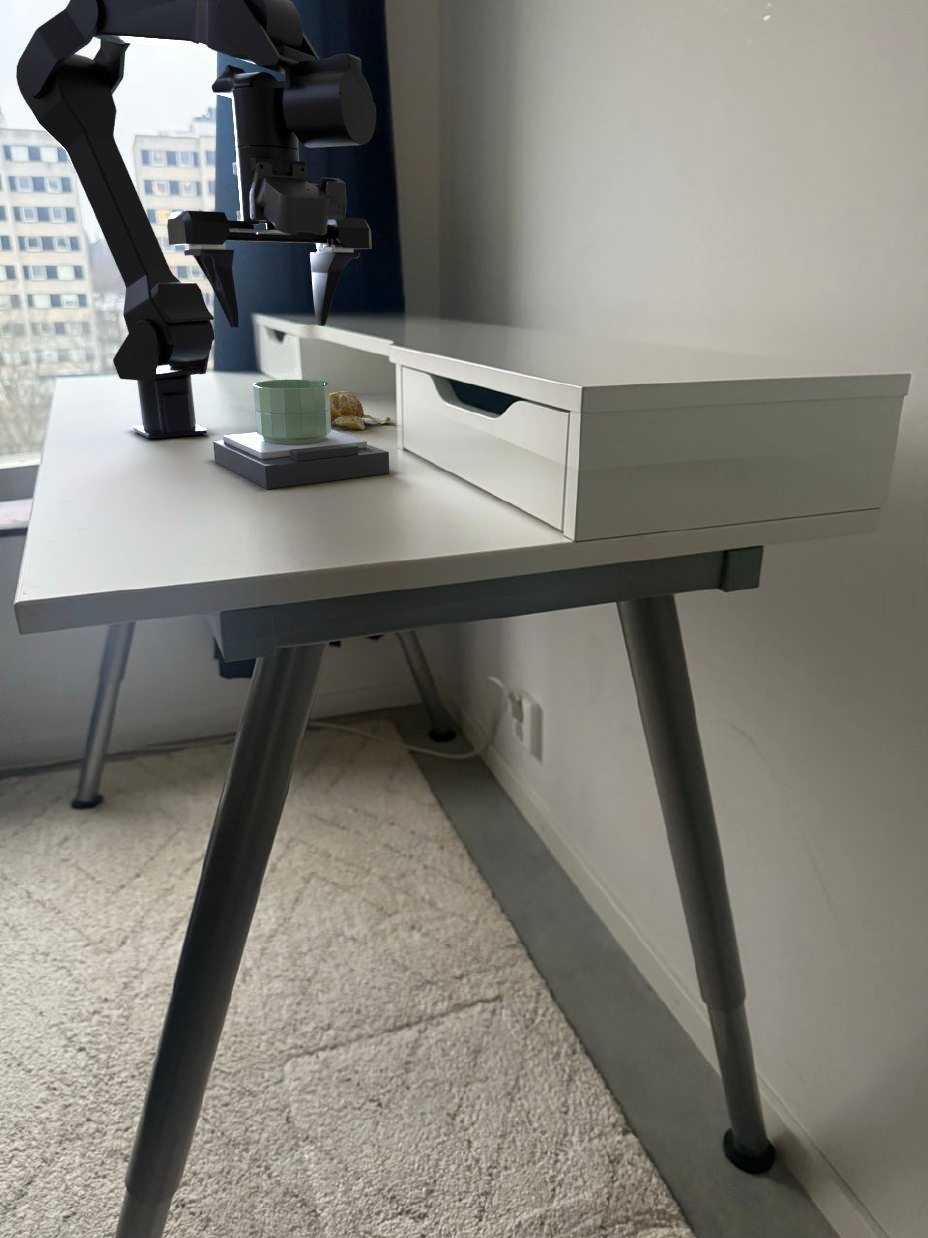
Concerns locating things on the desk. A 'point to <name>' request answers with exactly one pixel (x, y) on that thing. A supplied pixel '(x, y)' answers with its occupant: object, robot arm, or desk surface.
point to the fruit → (349, 411)
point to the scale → (299, 459)
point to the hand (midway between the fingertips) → (279, 326)
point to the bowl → (292, 411)
